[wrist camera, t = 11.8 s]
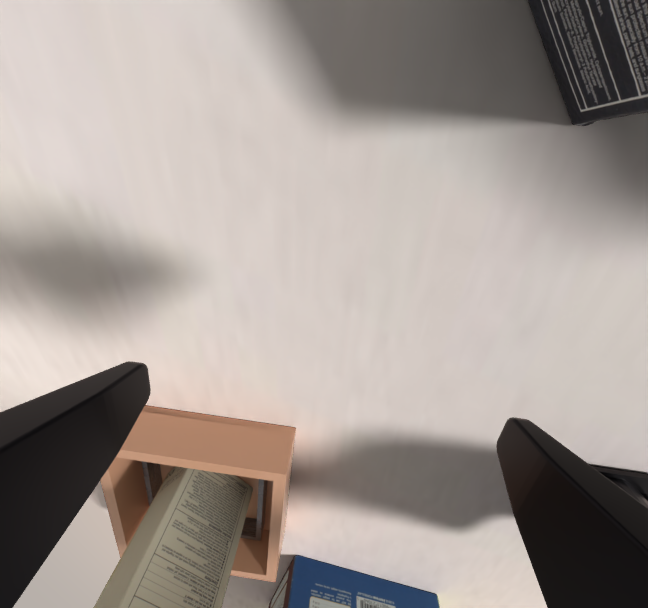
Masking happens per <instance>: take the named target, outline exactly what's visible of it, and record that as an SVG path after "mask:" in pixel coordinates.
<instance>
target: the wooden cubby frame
mask: <svg viewBox="0 0 648 608" xmlns="http://www.w3.org/2000/svg"><path fill="white" fill-rule="evenodd" d="M295 431H296V428H293V427H287V426H280V425H273V424H266V423H260V422H253V421H246V420H239V419H233V418H226V417H219V416H212V415H206V414H199V413H192V412H185V411H179V410H172V409H165V408H158V407H151V406H144V408H143V410H142V412H141V413H140V415H139V417H138V419H137V421H136V422H135V424H134V426H133V428H132V430H131V432H130V433H129V435H128V437H127V439H126V441H125V442H124V444H123V446H122V448H121V449H120V451H119V453H118V454H117V456H116V458H115V459H114V461H113V462H112V464H111V465H110V467H109V468H108V470H107V471H106V473H105V474H104V475H103V477H102V478H101V480H100V481H101V485H102V489H103V493H104V496H105V500H106V504H107V508H108V512H109V516H110V519H111V523H112V527H113V531H114V535H115V539H116V542H117V546H118V550H119V554H120V558H121V557H122V555H123V553H124V551H125V550H126V548H127V546H128V544H129V542H130V541H131V539H132V537H133V535H134V533H135V532H136V530H137V528H138V526H139V524H140V523H141V521H142V519H143V517H144V515H145V514H146V512H147V510H148V508H149V502H148V497H147V491H146V485H145V479H144V474H143V468H142V462H141V461H144V462H151V463H157V464H160V468H161V475H162V482H163V481H164V479H165V478H166V476H167V474H168V473H169V472H170V471H171V470H172V469H173V468H174V467H175V466H177V467H184V468H190V469H197V470H203V471H210V472H216V473H223V474H230V475H236V476H237V477H239V478H240V479H241V480H243V481H244V482H245V483H247V484H248V485H250V486H251V487H252V488H253V492H252V496H251V499H250V503H249V507H248V510H247V514H246V517H249V518H255V519H257V506H258V485H259V479H263V480H268V481H267V497H266V512H265V524H264V528H263V533H262V537H261V541H258V540H251V539H245V538H240V540H239V544H238V548H237V551H236V555H235V559H234V563H233V566H232V570H231V574H230V575H232V576H238V577H245V578H251V579H257V580H263V581H270V582H276V577H277V571H278V566H279V560H280V555H281V549H282V543H283V538H284V532H285V524H286V514H287V505H288V496H289V487H290V477H291V468H292V459H293V450H294V440H295Z"/></svg>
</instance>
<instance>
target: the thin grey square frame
mask: <svg viewBox="0 0 648 608" xmlns="http://www.w3.org/2000/svg"><path fill="white" fill-rule="evenodd" d="M141 462H142V468H143V474H144V479H145V485H146V491H147V497H148V502H149V506H150V505H151V503H152V501H153V499H154V497H155V496H156V494H157V492H158V490H159V488H160V487H161V485H162V483H163V482H162V475H161V468H160V464H157V463H151V462H144V461H141ZM267 481H268V480H263V479H259V485H258V506H257V519H255V518H249V517H246V518H245V522H244V525H243V529H242V533H241V537H240V538H245V539H251V540H258V541H261V537H262V533H263V528H264V524H265V512H266V497H267Z"/></svg>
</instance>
